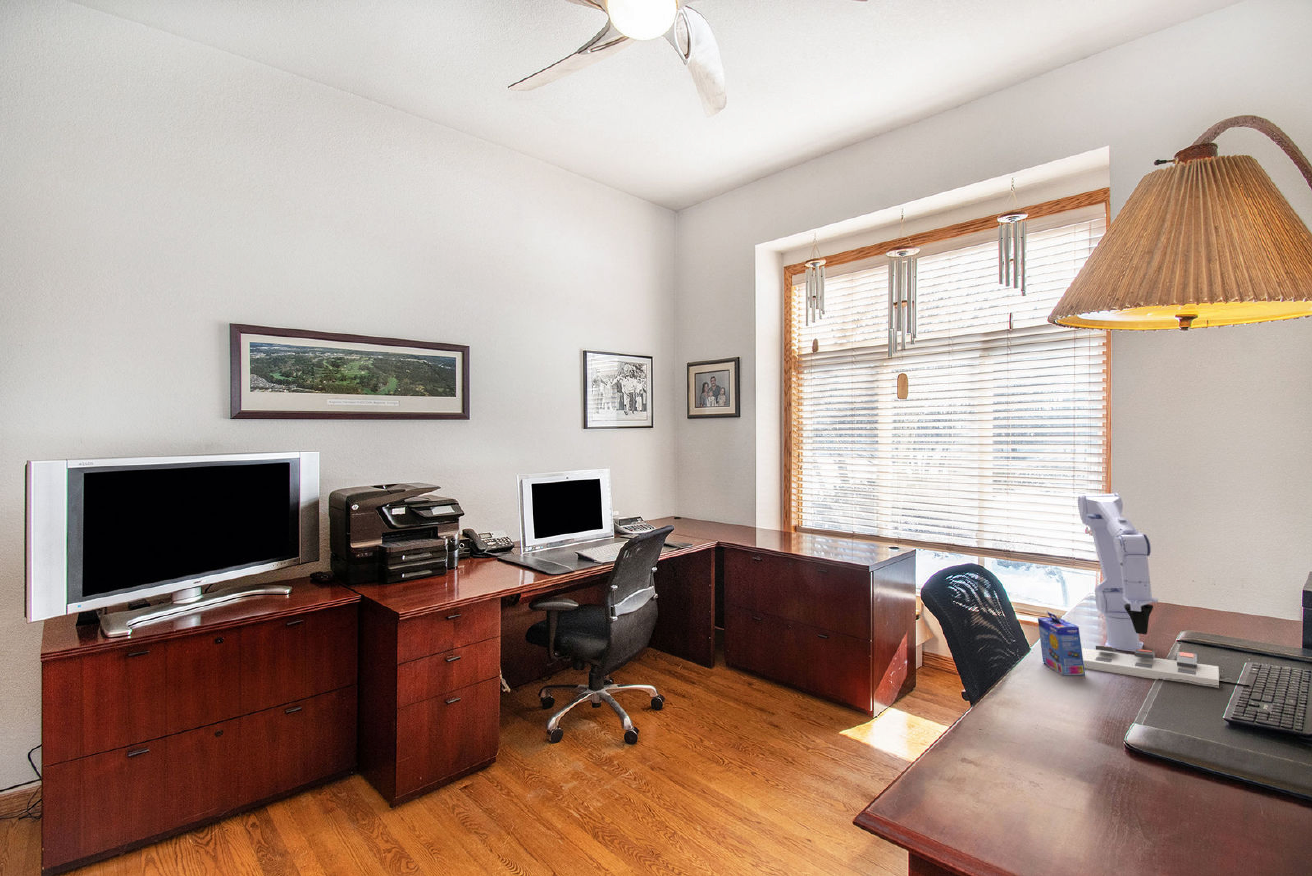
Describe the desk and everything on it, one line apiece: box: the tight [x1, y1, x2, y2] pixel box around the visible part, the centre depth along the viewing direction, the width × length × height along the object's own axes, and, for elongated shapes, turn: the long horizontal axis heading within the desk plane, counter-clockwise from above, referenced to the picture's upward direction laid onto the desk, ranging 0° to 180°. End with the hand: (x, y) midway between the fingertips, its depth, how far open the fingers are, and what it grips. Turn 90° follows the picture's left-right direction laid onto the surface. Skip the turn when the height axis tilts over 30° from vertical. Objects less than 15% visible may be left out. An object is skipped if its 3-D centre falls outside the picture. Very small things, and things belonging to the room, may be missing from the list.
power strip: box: [1082, 647, 1232, 685], centre depth 145 cm, size 11×32×2 cm, turn 46°
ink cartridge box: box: [1037, 611, 1086, 677], centre depth 152 cm, size 10×6×14 cm, turn 174°
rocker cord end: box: [1176, 651, 1198, 668], centre depth 143 cm, size 5×4×1 cm
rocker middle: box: [1134, 648, 1156, 659], centre depth 149 cm, size 5×4×1 cm
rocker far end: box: [1095, 645, 1117, 653], centre depth 154 cm, size 5×4×1 cm
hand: (1141, 633), depth 151 cm, fingers closed
